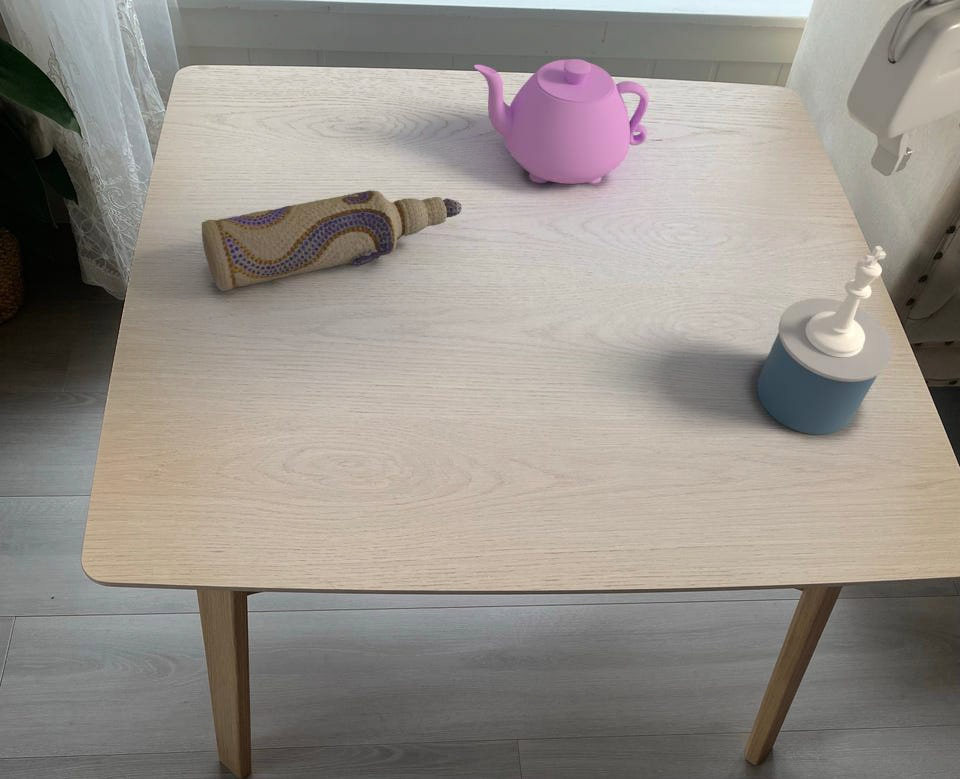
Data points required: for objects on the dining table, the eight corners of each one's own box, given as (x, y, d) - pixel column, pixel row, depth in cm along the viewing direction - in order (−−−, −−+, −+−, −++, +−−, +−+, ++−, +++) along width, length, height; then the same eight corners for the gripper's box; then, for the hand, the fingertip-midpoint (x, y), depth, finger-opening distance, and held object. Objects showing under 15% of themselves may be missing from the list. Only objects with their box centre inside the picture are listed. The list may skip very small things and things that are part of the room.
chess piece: (794, 321, 82) (835, 232, 75) (843, 312, 84) (887, 223, 76) (824, 362, 79) (869, 273, 72) (874, 352, 81) (923, 263, 73)
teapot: (471, 198, 103) (478, 100, 94) (464, 123, 112) (470, 27, 103) (651, 201, 105) (675, 104, 96) (629, 126, 114) (650, 32, 105)
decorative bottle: (221, 310, 90) (211, 256, 85) (205, 259, 94) (194, 205, 89) (474, 254, 97) (478, 201, 92) (447, 209, 102) (450, 157, 97)
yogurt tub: (871, 438, 85) (908, 379, 79) (767, 437, 84) (796, 378, 78) (840, 358, 91) (872, 298, 85) (743, 357, 90) (768, 296, 84)
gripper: (960, 17, 51) (863, 219, 61) (1171, -55, 59) (1054, 135, 69) (871, -34, 54) (794, 167, 65) (1083, -95, 62) (983, 92, 73)
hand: (930, 150), depth 67 cm, fingers open, 8 cm apart
